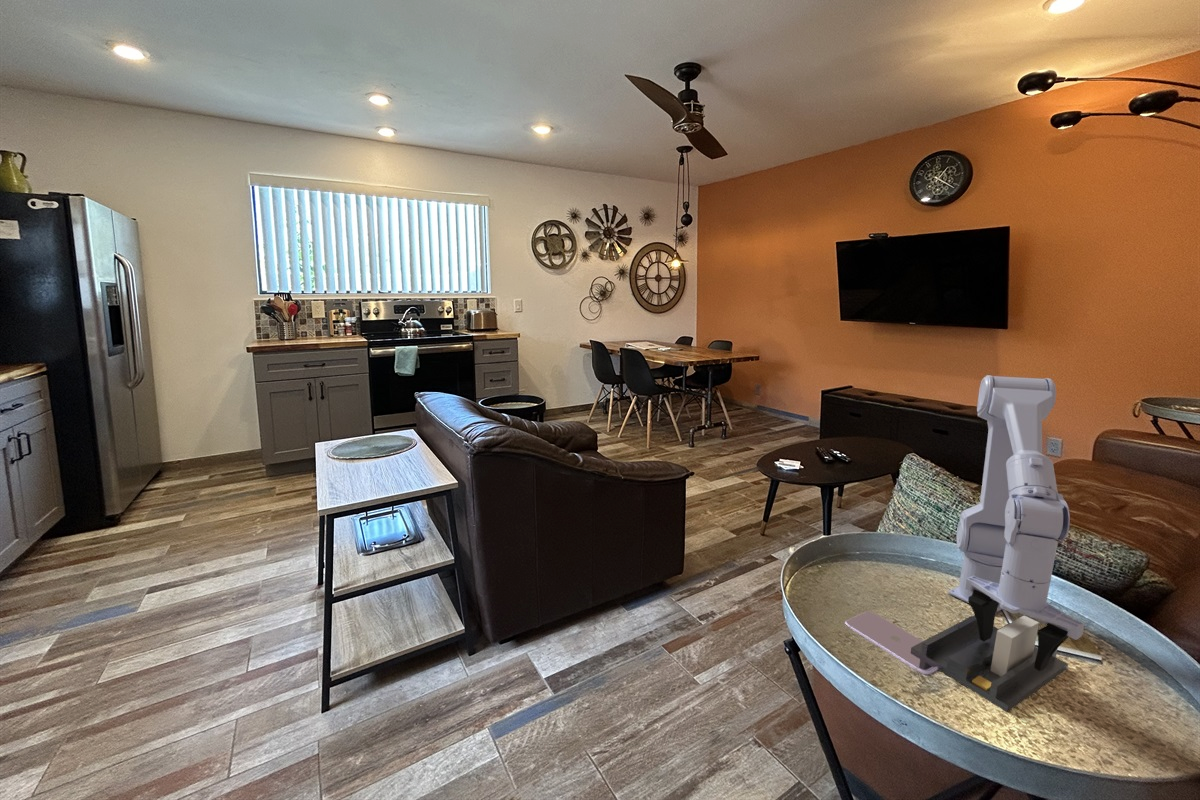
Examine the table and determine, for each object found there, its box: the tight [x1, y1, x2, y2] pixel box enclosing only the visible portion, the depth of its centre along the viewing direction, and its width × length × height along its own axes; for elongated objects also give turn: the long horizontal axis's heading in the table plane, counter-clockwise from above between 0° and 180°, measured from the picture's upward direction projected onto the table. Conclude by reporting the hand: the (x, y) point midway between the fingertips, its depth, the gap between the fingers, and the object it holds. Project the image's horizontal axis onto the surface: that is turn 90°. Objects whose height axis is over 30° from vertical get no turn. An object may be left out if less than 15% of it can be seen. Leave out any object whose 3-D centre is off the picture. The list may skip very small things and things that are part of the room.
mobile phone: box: [844, 611, 939, 675], centre depth 89 cm, size 8×1×15 cm
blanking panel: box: [990, 615, 1040, 676], centre depth 81 cm, size 8×2×7 cm, turn 117°
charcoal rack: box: [911, 614, 1069, 713], centre depth 84 cm, size 18×14×3 cm
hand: (1011, 652), depth 81 cm, fingers open, 7 cm apart
